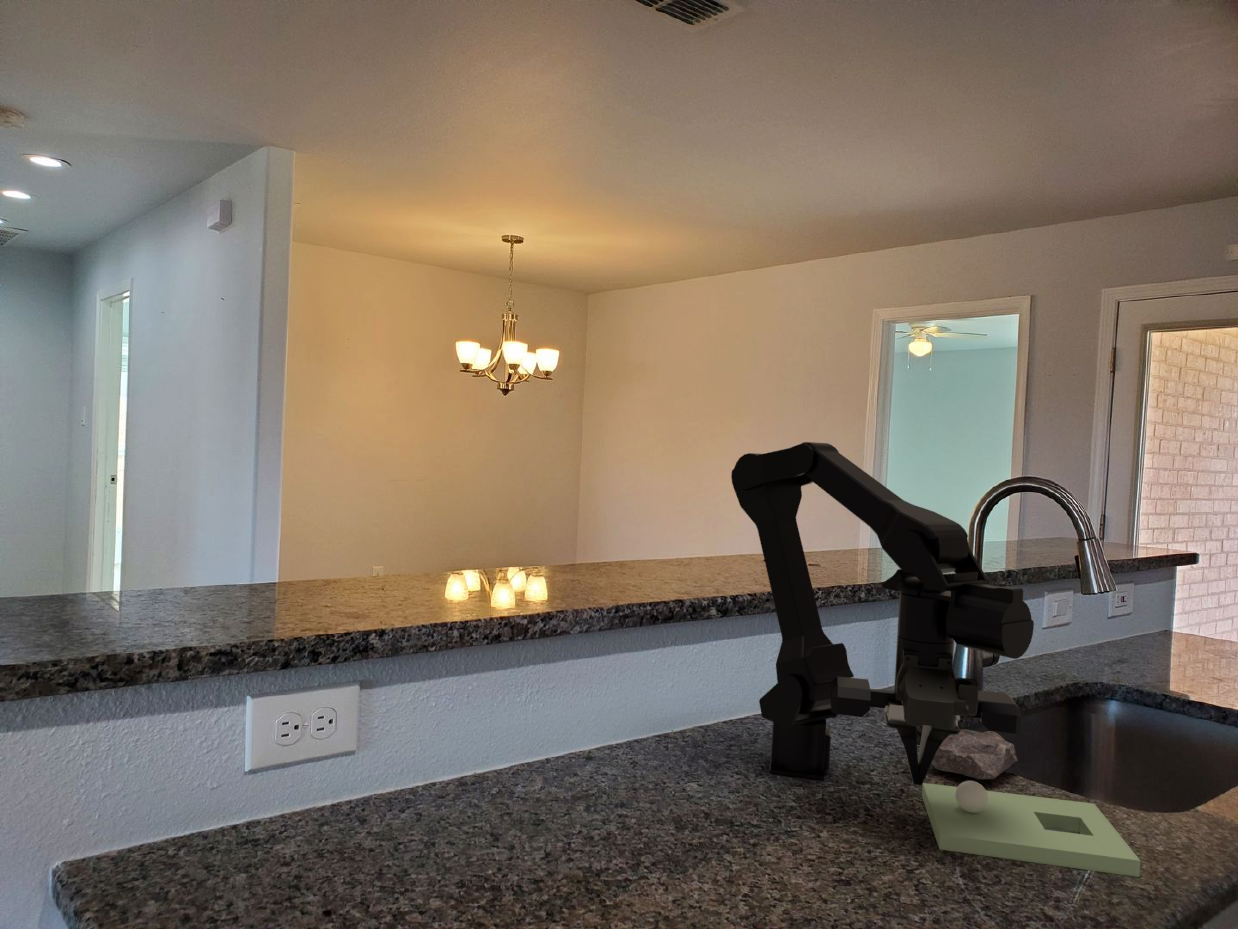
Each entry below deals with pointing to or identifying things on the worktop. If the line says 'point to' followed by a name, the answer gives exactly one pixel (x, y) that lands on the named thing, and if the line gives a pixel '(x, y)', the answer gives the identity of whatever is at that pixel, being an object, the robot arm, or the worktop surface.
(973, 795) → the ball
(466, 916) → the worktop surface
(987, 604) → the robot arm
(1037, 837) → the board
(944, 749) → the rock
